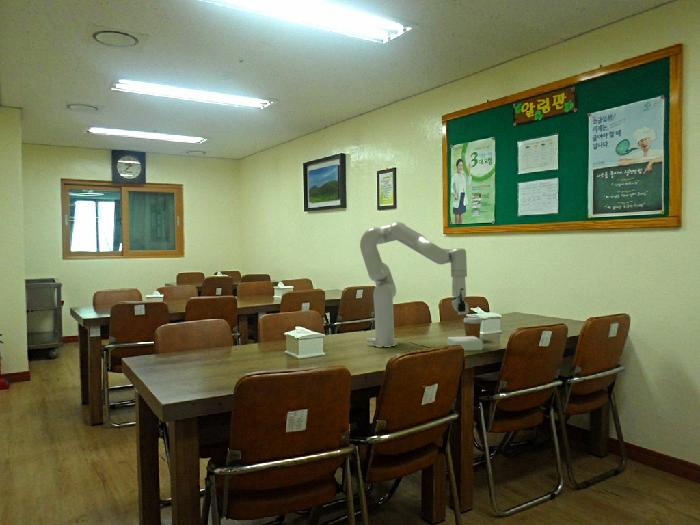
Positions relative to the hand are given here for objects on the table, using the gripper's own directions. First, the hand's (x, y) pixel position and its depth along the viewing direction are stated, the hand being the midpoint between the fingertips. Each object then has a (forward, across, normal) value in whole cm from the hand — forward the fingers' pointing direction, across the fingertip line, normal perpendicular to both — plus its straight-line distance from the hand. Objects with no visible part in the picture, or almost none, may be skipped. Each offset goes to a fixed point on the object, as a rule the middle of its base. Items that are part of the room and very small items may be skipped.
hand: (460, 310), depth 259 cm
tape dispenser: (+2, 0, 0) cm, 2 cm away
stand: (+18, -1, +2) cm, 18 cm away
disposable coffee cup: (+19, -16, +10) cm, 26 cm away
